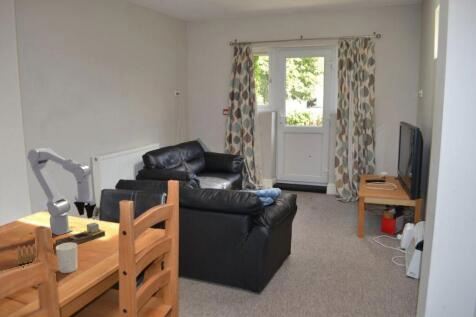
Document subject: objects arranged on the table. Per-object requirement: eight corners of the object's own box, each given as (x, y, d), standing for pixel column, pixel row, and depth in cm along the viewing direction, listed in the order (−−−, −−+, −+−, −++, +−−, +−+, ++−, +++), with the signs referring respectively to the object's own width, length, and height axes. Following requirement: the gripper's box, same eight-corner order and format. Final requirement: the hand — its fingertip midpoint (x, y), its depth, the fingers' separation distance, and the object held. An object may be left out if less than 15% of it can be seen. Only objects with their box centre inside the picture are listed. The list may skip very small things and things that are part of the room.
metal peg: (87, 236, 201) (86, 224, 199) (94, 233, 204) (94, 222, 202) (92, 238, 198) (91, 226, 197) (99, 235, 201) (98, 224, 200)
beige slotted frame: (55, 244, 190) (55, 239, 190) (96, 231, 206) (95, 227, 206) (64, 248, 185) (64, 243, 185) (105, 235, 201) (104, 231, 201)
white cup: (61, 265, 168) (59, 242, 166) (81, 264, 168) (79, 242, 166) (54, 274, 160) (52, 250, 158) (75, 273, 160) (73, 249, 159)
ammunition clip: (19, 276, 158) (15, 247, 156) (19, 274, 160) (16, 245, 158) (49, 270, 163) (46, 242, 161) (48, 269, 165) (46, 241, 162)
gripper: (68, 189, 200) (70, 215, 202) (84, 193, 191) (86, 221, 193) (81, 186, 205) (83, 212, 208) (97, 190, 196) (99, 217, 199)
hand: (85, 216), depth 201 cm, fingers open, 7 cm apart
